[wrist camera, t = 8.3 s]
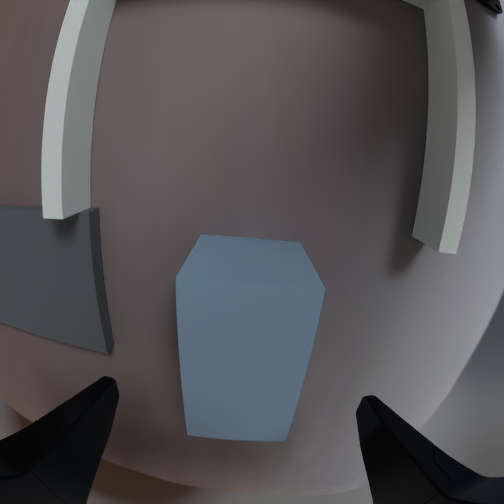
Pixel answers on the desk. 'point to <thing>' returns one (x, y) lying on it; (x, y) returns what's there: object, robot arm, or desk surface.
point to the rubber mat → (54, 277)
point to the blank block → (245, 335)
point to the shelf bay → (438, 124)
